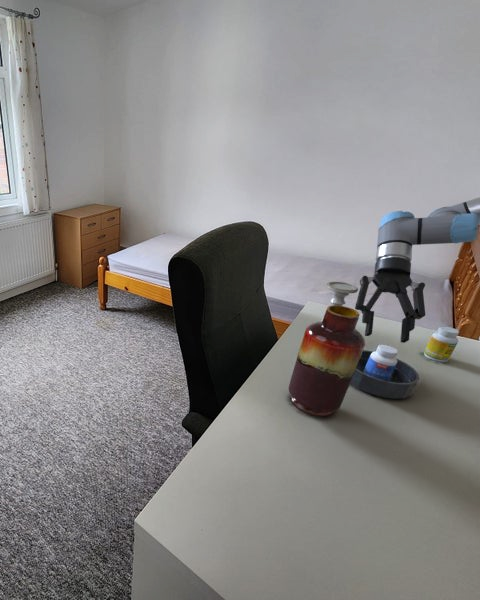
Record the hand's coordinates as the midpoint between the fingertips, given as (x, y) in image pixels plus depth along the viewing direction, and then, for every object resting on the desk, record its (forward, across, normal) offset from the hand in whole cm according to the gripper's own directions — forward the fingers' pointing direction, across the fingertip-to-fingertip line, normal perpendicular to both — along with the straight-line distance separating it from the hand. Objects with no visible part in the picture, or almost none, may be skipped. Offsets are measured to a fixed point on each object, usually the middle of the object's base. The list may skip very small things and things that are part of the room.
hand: (386, 337), depth 90 cm
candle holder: (0, +10, -16) cm, 19 cm away
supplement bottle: (-4, -18, -20) cm, 27 cm away
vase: (+24, +16, +8) cm, 30 cm away
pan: (+11, 0, -5) cm, 12 cm away
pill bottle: (+11, 0, -5) cm, 12 cm away
